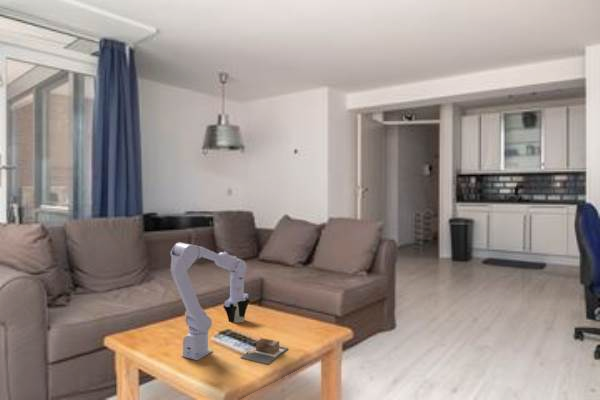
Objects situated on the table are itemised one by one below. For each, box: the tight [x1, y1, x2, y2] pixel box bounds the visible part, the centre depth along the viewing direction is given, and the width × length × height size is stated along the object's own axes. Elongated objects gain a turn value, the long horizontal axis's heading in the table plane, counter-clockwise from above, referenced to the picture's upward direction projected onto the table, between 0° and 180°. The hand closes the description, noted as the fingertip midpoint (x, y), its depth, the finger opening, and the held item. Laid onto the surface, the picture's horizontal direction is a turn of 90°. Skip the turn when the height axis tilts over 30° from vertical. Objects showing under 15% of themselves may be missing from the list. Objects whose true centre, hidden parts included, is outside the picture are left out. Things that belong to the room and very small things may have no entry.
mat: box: [240, 345, 289, 366], centre depth 159 cm, size 16×12×1 cm
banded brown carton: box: [255, 337, 280, 355], centre depth 161 cm, size 8×4×4 cm, turn 64°
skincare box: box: [230, 303, 246, 324], centre depth 196 cm, size 6×4×12 cm
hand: (236, 319), depth 171 cm, fingers open, 7 cm apart
